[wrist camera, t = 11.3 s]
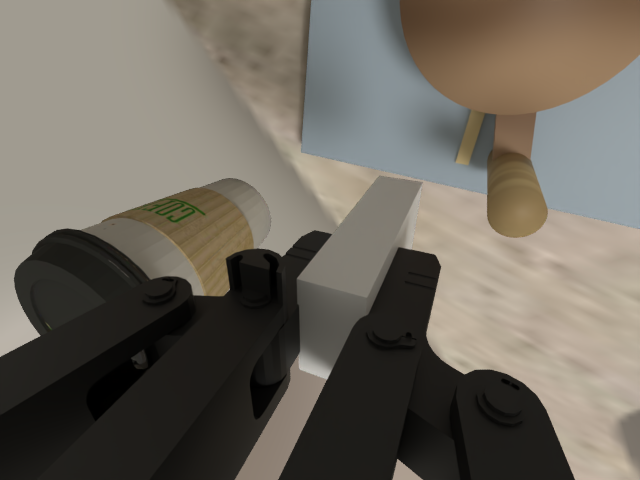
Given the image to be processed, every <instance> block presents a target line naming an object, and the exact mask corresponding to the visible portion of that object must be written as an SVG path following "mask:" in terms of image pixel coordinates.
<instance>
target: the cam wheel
mask: <svg viewBox="0 0 640 480" xmlns="http://www.w3.org/2000/svg"><path fill="white" fill-rule="evenodd" d="M400 15H401V23H402V28H403V33H404V38H405V40H406V43H407V46H408V49H409V52H410V54H411V56H412V58H413V60H414V62H415V64H416V66H417V67H418V69H419V70H420V72H421V73H422V75H423V76H424V77H425V78H426V80H427V81H428V82H429V83H430V84H431V85H432V86H433V87H434V88H435V89H436V90H437V91H439V92H440V93H441V94H442V95H444V96H445V97H447V98H448V99H450V100H452V101H453V102H455V103H457V104H459V105H461V106H464V107H466V108H469V109H471V110H475V111H479V112H483V113H489V114H496V116H495V128H494V140H493V150H492V151H491V152H490V154H489V156H488V159H487V217H488V221H489V224H490V225H491V227H492V228H493V229H494V230H495V231H496V232H498V233H499V234H501V235H504V236H507V237H513V238H518V237H524V236H528V235H530V234H533V233H534V232H536V231H537V230H539V229H540V228H541V227H542V225H543V224H544V223H545V221H546V218H547V214H548V210H547V205H546V202H545V199H544V196H543V193H542V191H541V188H540V185H539V182H538V179H537V176H536V173H535V170H534V167H533V165H532V162H531V151H532V143H533V136H534V128H535V120H536V113H537V112H539V111H543V110H547V109H551V108H554V107H557V106H560V105H562V104H565V103H568V102H571V101H573V100H575V99H577V98H579V97H581V96H583V95H585V94H587V93H589V92H591V91H592V90H594V89H596V88H597V87H599V86H601V85H602V84H604V83H606V82H607V81H608V80H610V79H611V78H613V77H614V76H615V75H617V74H618V73H619V72H621V71H622V70H623V69H625V68H626V67H627V66H628V65H629V64H630V63H631V62H632V61H634V60H635V59H636V58H637V57H638V56H639V55H640V0H400Z"/></svg>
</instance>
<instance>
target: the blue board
mask: <svg viewBox="0 0 640 480" xmlns="http://www.w3.org/2000/svg"><path fill="white" fill-rule="evenodd" d="M495 116H496V114H489V113H483V112H479V111H475V110H471V109H469V108H466V107H464V106H461V105H459V104H457V103H455V102H453V101H452V100H450V99H448V98H447V97H445V96H444V95H442V94H441V93H440V92H439V91H437V90H436V89H435V88H434V87H433V86H432V85H431V84H430V83H429V82H428V81H427V80H426V78H425V77H424V76H423V75H422V73H421V72H420V70H419V69H418V67H417V66H416V64H415V62H414V60H413V58H412V56H411V54H410V52H409V49H408V46H407V43H406V40H405V38H404V33H403V28H402V23H401V15H400V0H311V13H310V28H309V43H308V57H307V72H306V87H305V102H304V117H303V131H302V146H301V152H302V153H306V154H310V155H315V156H319V157H324V158H328V159H332V160H337V161H341V162H346V163H350V164H354V165H359V166H363V167H368V168H372V169H377V170H381V171H385V172H390V173H394V174H399V175H403V176H407V177H412V178H416V179H421V180H425V181H430V182H434V183H438V184H443V185H447V186H452V187H456V188H460V189H465V190H469V191H474V192H478V193H482V194H487V159H488V156H489V154H490V152H491V151H492V150H493V140H494V128H495ZM531 162H532V165H533V167H534V170H535V173H536V176H537V179H538V182H539V185H540V188H541V191H542V193H543V196H544V199H545V202H546V205H547V208H549V209H553V210H557V211H562V212H566V213H571V214H575V215H580V216H584V217H588V218H593V219H597V220H602V221H606V222H610V223H615V224H619V225H624V226H628V227H632V228H637V229H640V55H639V56H638V57H637V58H636V59H635V60H634V61H632V62H631V63H630V64H629V65H628V66H627V67H626V68H625V69H623V70H622V71H621V72H619V73H618V74H617V75H615V76H614V77H613V78H611V79H610V80H608V81H607V82H606V83H604V84H602V85H601V86H599V87H597V88H596V89H594V90H592V91H591V92H589V93H587V94H585V95H583V96H581V97H579V98H577V99H575V100H573V101H571V102H568V103H565V104H562V105H560V106H557V107H554V108H551V109H547V110H543V111H539V112H537V113H536V120H535V128H534V136H533V143H532V151H531Z"/></svg>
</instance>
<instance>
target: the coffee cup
mask: <svg viewBox="0 0 640 480" xmlns="http://www.w3.org/2000/svg"><path fill="white" fill-rule="evenodd" d="M270 226H271V217H270V212H269V209H268V206H267V204H266V202H265V201H264V199H263V197H262V196H261V195H260V193H259V192H257V190H256V189H255V188H253V187H252V186H251V185H249V184H248V183H245V182H243V181H241V180H238V179H233V178H228V179H222V180H219V181H217V182H214V183H211V184H208V185H206V186H203V187H200V188H193V189H189V190H186V191H183V192H180V193H177V194H174V195H172V196H169V197H166V198H163V199H160V200H157V201H154V202H152V203H148V204H145V205H143V206H140V207H137V208H134V209H131V210H128V211H125V212H122V213H119V214H116V215H114V216H111V217H109V218H107V219H105V220H103V221H102V222H101V223H99V224H96V225H94V226H91V227H88V228H85V229H82V230H74V229H61V230H56V231H54V232H52V233H51V234H49V235H48V236H46V237H45V238H44V239H42V240H41V241H39V242H38V244H37V245H36V246H35V248H34V249H33V251H32V255H30V256H29V257H28V258H27V259H26V260H25V261H24V262H22V263H21V264H20V265H19V266H18V268H17V269H16V272H15V277H14V282H15V290H16V293H17V296H18V299H19V302H20V304H21V306H22V308H23V310H24V312H25V313H26V315H27V317H28V319H29V320H30V322H31V323H32V325H33V326H34V328H35V329H36V330H37V332H38V333H39V334H40V335H41V336H42V335H44V334H45V333H47V332H49V331H51V330H53V329H55V328H57V327H59V326H61V325H63V324H65V323H67V322H69V321H71V320H72V319H74V318H76V317H78V316H80V315H82V314H84V313H86V312H88V311H90V310H92V309H94V308H96V307H98V306H99V305H101V304H103V303H105V302H107V301H109V300H111V299H113V298H115V297H117V296H119V295H121V294H123V293H125V292H126V291H128V290H130V289H132V288H134V287H136V286H138V285H140V284H142V283H144V282H147V281H149V280H152V279H154V278H159V277H164V276H178V277H181V278H183V279H186V280H187V281H188V282H189V283H190V284H191V286H192V291H193V295H201V296H224V295H225V294H226V292H227V291H228V290H229V288H230V285H229V279H228V272H227V265H226V258H227V257H229V256H230V255H232V254H234V253H236V252H239V251H243V250H246V249H257V248H258V247H259V246H260V244H261V243H262V242H263V241H264V239H265V238H266V237H267V235H268V233H269V231H270ZM131 359H132V362H133V365H139V364H142V363H144V362H146V359H145V356H144V353H143V351H141V352H139V353H138V354H136V355H135V356H133V357H132V358H131Z"/></svg>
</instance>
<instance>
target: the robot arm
mask: <svg viewBox="0 0 640 480" xmlns="http://www.w3.org/2000/svg"><path fill="white" fill-rule="evenodd" d="M422 184H423V182H418V181H411V180H404V179H398V178H391V177H384V176H379V177H378V178H377V179H376V180H375V182H374V183H373V184H372V185H371V187H370V188H369V189H368V190H367V192H366V193H365V194H364V195H363V197H362V198H361V199H360V200H359V202H358V203H357V204H356V205H355V207H354V208H353V209H352V210H351V212H350V213H349V214H348V215H347V217H346V218H345V219H344V220H343V222H342V223H341V224H340V225H339V227H338V228H337V229H336V230H335V232H334V233H333V234H329V233H325V232H320V231H312V232H310V233H308V234H306V235H304V236H302V237H301V238H300V239H299V240H298V241H297V242H296V243H295V244H294V245H293V247H292V248H290V249H289V250H288V251H287V252H286V255H284V256H283V257H281V256H280V255H279V254H278V253H275V252H273V251H271V250H266V249H258V248H257V249H246V250H243V251H239V252H236V253H234V254H232V255H230V256H229V257H227V258H226V265H227V272H228V279H229V285H230V290H229V291H228V292H227V293H226V294H225V295H224V296H201V295H193V291H192V286H191V284H190V283H189V282H188V281H187V280H186V279H183V278H181V277H178V276H164V277H159V278H154V279H152V280H149V281H147V282H144V283H142V284H140V285H138V286H136V287H134V288H132V289H130V290H128V291H126V292H125V293H123V294H121V295H119V296H117V297H115V298H113V299H111V300H109V301H107V302H105V303H103V304H101V305H99V306H98V307H96V308H94V309H92V310H90V311H88V312H86V313H84V314H82V315H80V316H78V317H76V318H74V319H72V320H71V321H69V322H67V323H65V324H63V325H61V326H59V327H57V328H55V329H53V330H51V331H49V332H47V333H45V334H44V335H42V336H40V337H38V338H36V339H34V340H32V341H30V342H28V343H26V344H24V345H22V346H20V347H18V348H17V349H15V350H13V351H11V352H9V353H7V354H5V355H3V356H1V357H0V480H235V478H236V476H237V475H238V473H239V471H240V469H241V468H242V466H243V464H244V463H245V461H246V459H247V457H248V456H249V454H250V452H251V450H252V449H253V447H254V445H255V443H256V442H257V440H258V438H259V437H260V435H261V433H262V431H263V430H264V428H265V426H266V425H267V423H268V421H269V419H270V418H271V416H272V414H273V412H274V411H275V409H276V407H277V405H278V404H279V402H280V400H281V398H282V397H283V395H284V393H285V392H286V390H287V388H288V385H289V382H290V367H291V366H292V364H293V362H294V361H295V359H296V358H297V356H298V354H299V369H300V370H302V371H305V372H308V373H311V374H313V375H316V376H319V377H322V378H324V379H327V381H326V383H325V385H324V387H323V389H322V391H321V393H320V395H319V397H318V400H317V401H316V404H315V406H314V408H313V410H312V412H311V414H310V416H309V418H308V420H307V422H306V424H305V426H304V428H303V430H302V432H301V434H300V436H299V439H298V441H297V443H296V445H295V447H294V449H293V451H292V453H291V455H290V457H289V459H288V461H287V463H286V465H285V467H284V469H283V471H282V473H281V475H280V477H279V479H278V480H392V479H393V475H394V471H395V467H396V462H397V459H399V460H400V461H401V462H402V463H403V464H405V465H406V466H407V467H408V468H410V469H411V470H412V471H413V472H414V473H416V474H417V475H418V476H419V477H420V478H422V479H423V480H575V479H574V476H573V474H572V471H571V469H570V467H569V464H568V462H567V459H566V457H565V454H564V452H563V450H562V447H561V445H560V442H559V440H558V438H557V435H556V433H555V430H554V428H553V425H552V423H551V421H550V418H549V416H548V413H547V411H546V409H545V408H544V406H543V404H542V403H541V401H540V400H539V398H538V396H537V395H536V394H535V393H534V392H532V391H531V390H530V389H529V388H528V387H527V386H526V385H525V384H524V383H522V382H520V381H519V380H517V379H515V378H513V377H511V376H509V375H508V374H505V373H501V372H497V371H494V370H474V371H472V372H469V373H467V374H465V375H464V374H463V373H461V372H459V371H457V370H456V369H454V368H452V367H451V366H449V365H448V364H446V363H445V362H444V361H442V360H441V359H440V358H439V357H438V356H437V355H436V354H435V353H434V352H433V350H432V349H431V347H430V346H429V344H428V341H427V337H426V332H427V328H428V323H429V319H430V315H431V310H432V306H433V301H434V297H435V292H436V287H437V283H438V278H439V274H440V269H441V266H440V264H439V261H438V259H437V257H436V255H434V254H429V253H424V252H420V251H415V250H412V245H413V239H414V232H415V226H416V220H417V214H418V208H419V202H420V196H421V190H422ZM141 351H143V353H144V356H145V359H146V362H144V363H142V364H139V365H133V362H132V359H131V358H132V357H133V356H135V355H136V354H138V353H139V352H141Z"/></svg>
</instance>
